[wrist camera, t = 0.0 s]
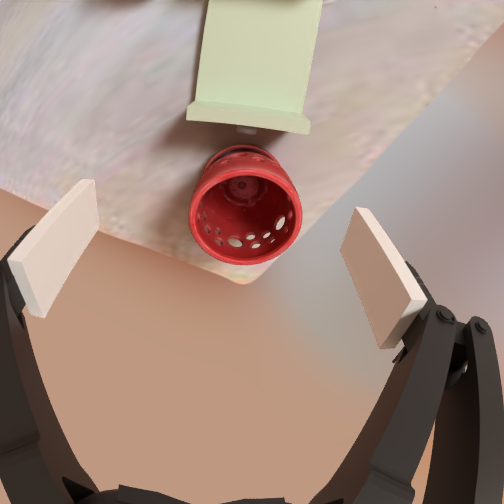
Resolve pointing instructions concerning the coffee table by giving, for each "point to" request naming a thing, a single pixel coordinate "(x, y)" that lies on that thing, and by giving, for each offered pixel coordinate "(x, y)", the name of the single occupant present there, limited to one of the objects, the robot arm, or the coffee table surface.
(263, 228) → the plant pot
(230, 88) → the holder
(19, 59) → the coffee table surface
